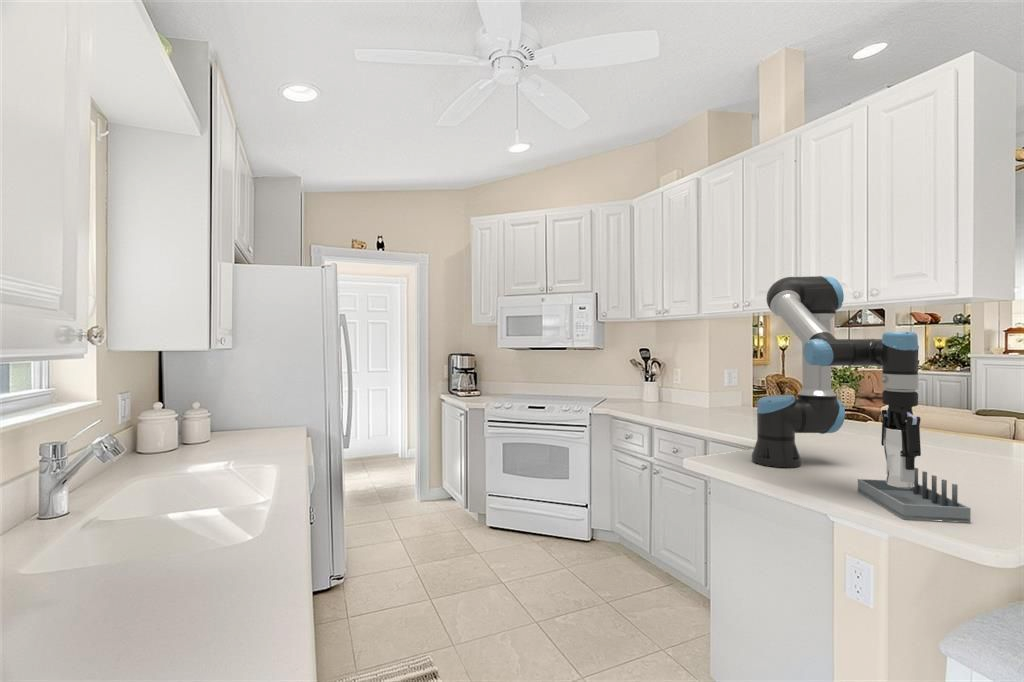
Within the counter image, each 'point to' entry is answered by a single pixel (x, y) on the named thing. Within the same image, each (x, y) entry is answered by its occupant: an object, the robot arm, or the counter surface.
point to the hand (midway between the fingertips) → (900, 477)
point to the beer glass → (894, 458)
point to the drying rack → (916, 500)
